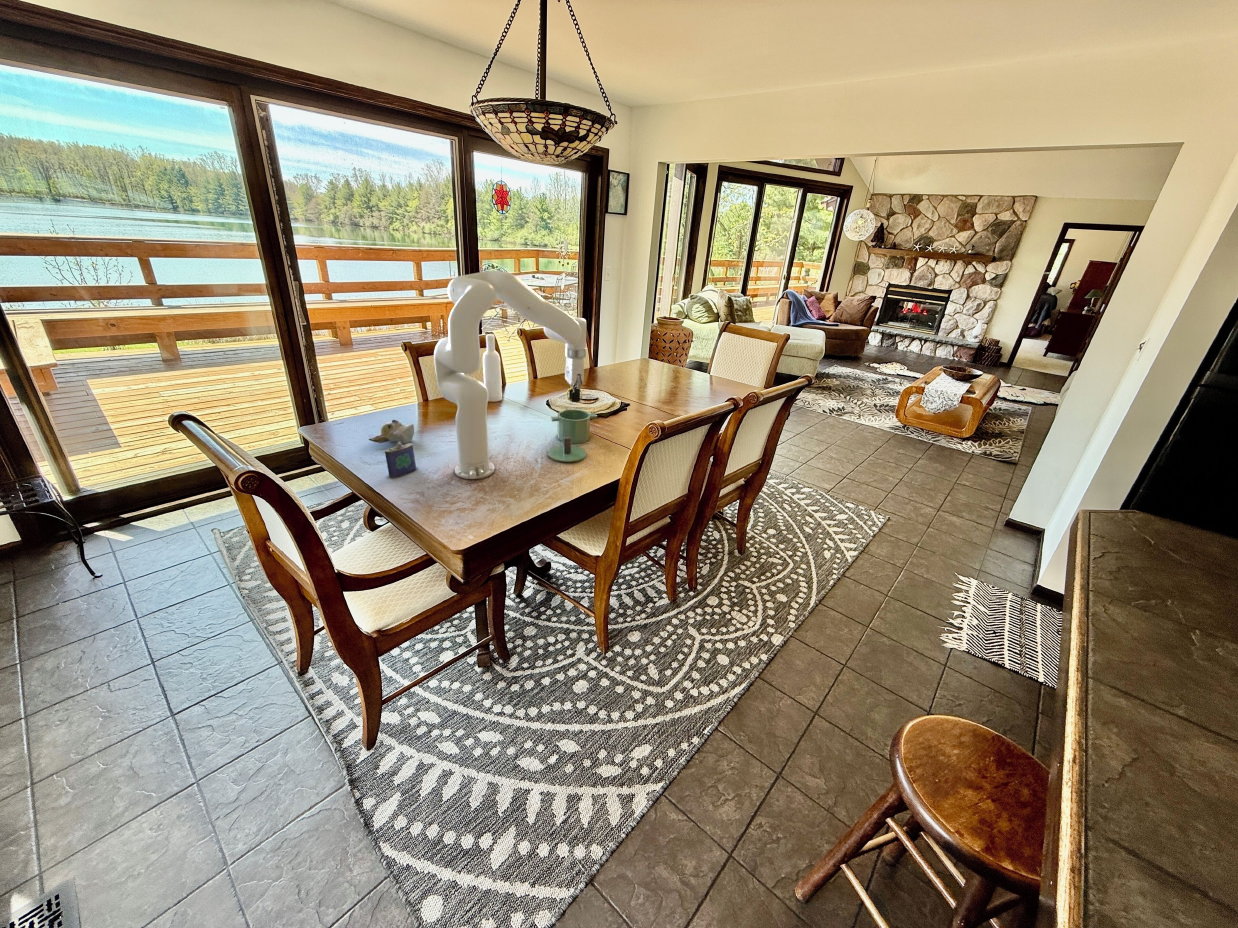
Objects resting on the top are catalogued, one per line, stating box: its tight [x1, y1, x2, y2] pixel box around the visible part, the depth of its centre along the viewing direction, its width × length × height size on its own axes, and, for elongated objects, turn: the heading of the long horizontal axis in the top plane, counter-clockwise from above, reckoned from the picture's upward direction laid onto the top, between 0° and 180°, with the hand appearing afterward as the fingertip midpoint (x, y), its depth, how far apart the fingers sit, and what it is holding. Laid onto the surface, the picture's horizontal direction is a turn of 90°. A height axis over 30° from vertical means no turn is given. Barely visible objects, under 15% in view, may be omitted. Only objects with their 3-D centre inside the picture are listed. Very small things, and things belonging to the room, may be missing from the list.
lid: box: [547, 436, 587, 463], centre depth 173 cm, size 14×14×7 cm
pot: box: [550, 408, 598, 445], centre depth 189 cm, size 13×18×10 cm
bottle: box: [482, 333, 503, 403], centre depth 220 cm, size 8×8×30 cm
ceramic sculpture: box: [368, 419, 415, 444], centre depth 175 cm, size 11×9×15 cm
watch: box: [566, 386, 583, 403], centre depth 183 cm, size 6×3×6 cm, turn 94°
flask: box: [384, 441, 417, 479], centre depth 153 cm, size 9×3×11 cm, turn 144°
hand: (574, 400), depth 184 cm, fingers closed on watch, 2 cm apart
